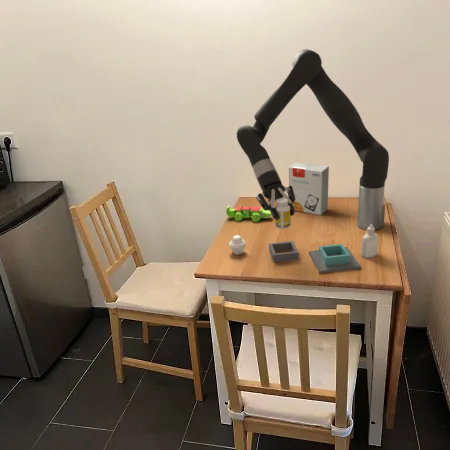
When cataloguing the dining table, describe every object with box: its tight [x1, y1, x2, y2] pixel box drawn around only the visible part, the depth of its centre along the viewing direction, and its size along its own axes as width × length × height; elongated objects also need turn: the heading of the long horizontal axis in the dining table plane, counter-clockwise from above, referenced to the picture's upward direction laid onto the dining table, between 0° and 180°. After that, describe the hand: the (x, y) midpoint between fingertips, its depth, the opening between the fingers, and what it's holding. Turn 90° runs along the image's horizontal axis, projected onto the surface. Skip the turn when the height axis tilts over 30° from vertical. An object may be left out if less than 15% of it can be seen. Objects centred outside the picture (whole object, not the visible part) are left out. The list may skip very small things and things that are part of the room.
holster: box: [268, 240, 300, 263], centre depth 161 cm, size 9×9×3 cm
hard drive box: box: [288, 161, 330, 216], centre depth 193 cm, size 16×8×20 cm, turn 55°
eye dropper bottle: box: [361, 224, 379, 259], centre depth 154 cm, size 4×6×12 cm
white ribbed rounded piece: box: [228, 234, 247, 255], centre depth 165 cm, size 6×6×7 cm
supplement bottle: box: [274, 197, 291, 230], centre depth 155 cm, size 5×5×10 cm
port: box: [308, 243, 362, 274], centre depth 154 cm, size 14×14×4 cm
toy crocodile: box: [225, 205, 272, 223], centre depth 192 cm, size 20×7×6 cm, turn 75°
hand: (285, 216), depth 154 cm, fingers closed on supplement bottle, 5 cm apart
